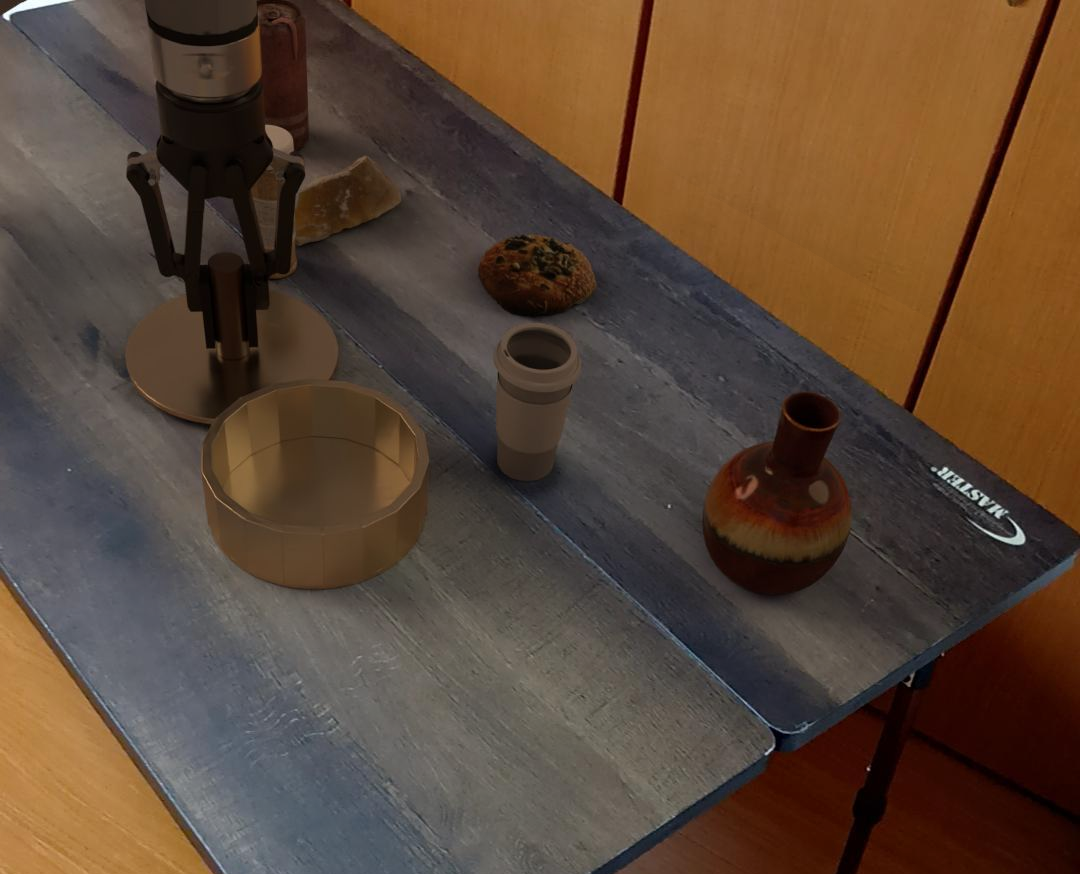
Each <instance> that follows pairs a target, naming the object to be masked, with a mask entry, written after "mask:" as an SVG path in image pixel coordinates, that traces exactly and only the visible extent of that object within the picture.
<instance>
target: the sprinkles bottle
mask: <svg viewBox="0 0 1080 874" xmlns="http://www.w3.org/2000/svg"><path fill="white" fill-rule="evenodd" d="M265 131H266V133H267V135H268V137H269V138H270V140H271V141H272V144H273V148H275V149H277V150H280V151H282V152H284V153H287V154H290V152H292V151H294V145H293V138H292V136H291V134H290V133H289V132H288V131H286V130H285V129H283V128H281V127H278V126H273V125H265ZM251 193H252V197H253V201H254V205H255V210H256V214H257V218H258V222H259V226H260V231H261V235H262V239H263V243H264V248H265V252H266V253H267V252H270V251H273V250H274V241H275V225H276V209H277V193H278V182H277V181H276V180H275V179H274V173H273V167H272V166H270V165H269V166H268V168H267V169H266V170H265V171H264V173H263V174H262V175H261V177H260V178H259V179H258V180H257V182H256V183H255V184H254V186H253V187H252V188H251ZM295 237H296V229H295V212H294V225H293V239H292V252H291V266H290V271H289V272H288V273H287V274H284V275H281V274H278V273H276V274H273V275H272V276H270V278H269V279H283V278H285V277H288V276H289V275H291V274H293V273H294V271H296V269H297V266H298V258H297V256H296V244H295ZM247 260H248V259H247ZM247 264H249V260H248V261H247Z"/></svg>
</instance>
